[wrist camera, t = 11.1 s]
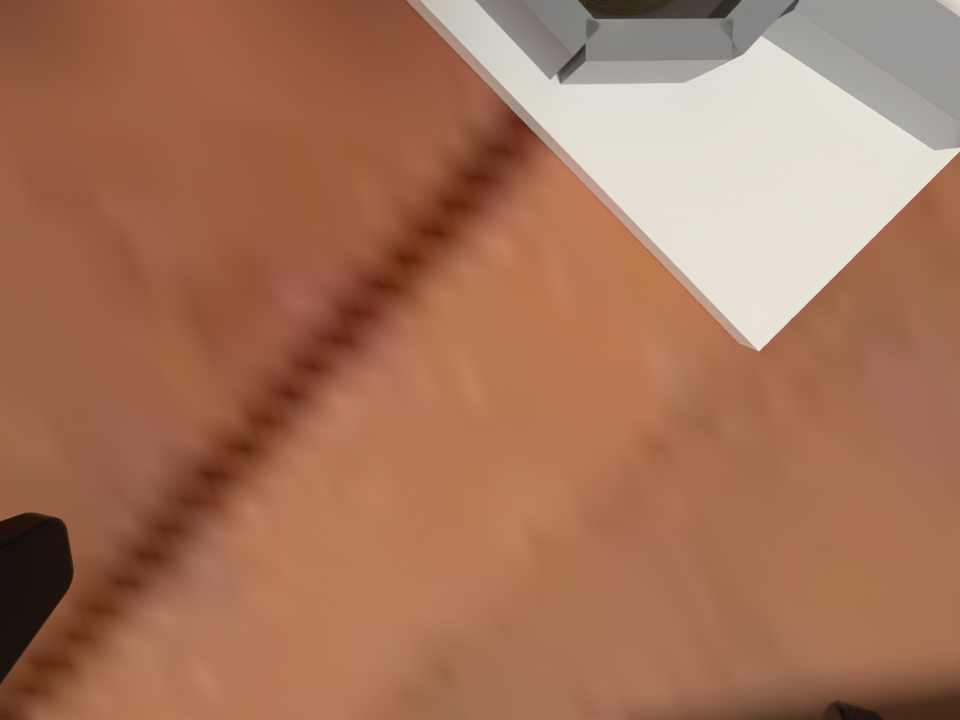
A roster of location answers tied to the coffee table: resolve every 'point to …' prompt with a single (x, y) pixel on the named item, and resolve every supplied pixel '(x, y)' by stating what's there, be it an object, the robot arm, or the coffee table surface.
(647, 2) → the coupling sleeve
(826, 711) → the robot arm
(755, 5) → the coupling stand
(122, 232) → the coffee table surface
